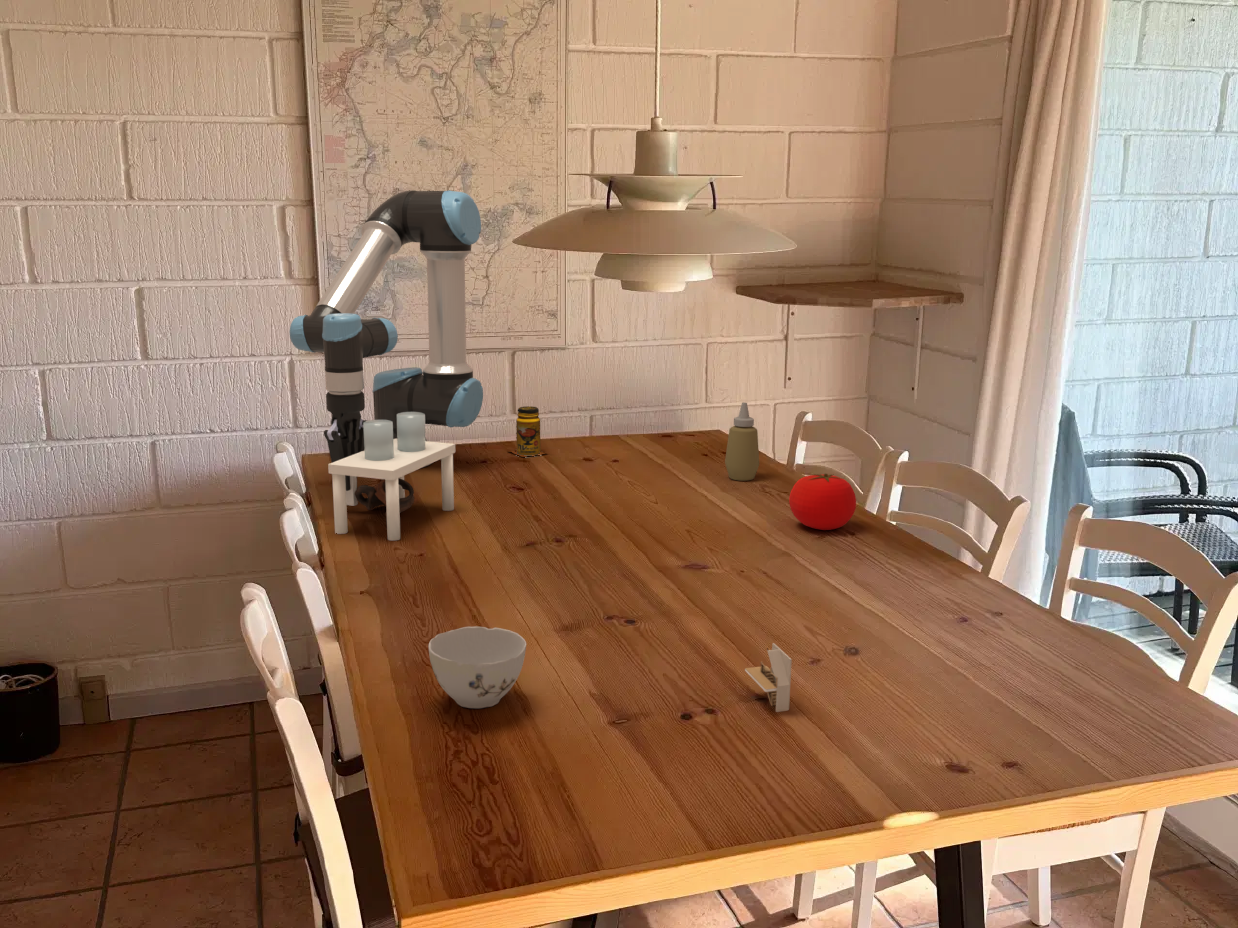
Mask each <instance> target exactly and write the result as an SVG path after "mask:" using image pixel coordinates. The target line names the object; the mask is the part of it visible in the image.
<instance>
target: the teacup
mask: <svg viewBox="0 0 1238 928" xmlns="http://www.w3.org/2000/svg"><path fill="white" fill-rule="evenodd" d="M526 651H527V641H526V640H525V638H523V636H521V635H520V634H519V633H518V632H515V631H512V630H509V629H505V628H500V627H493V628H488V627H485V626H464V627H460V628H456V629H451V630H449V631H448V630H447V631H445V632H442V633H437V634H436V635H435V636H434V637H433V638H431V639H430V641H429V643H428V654H429V661H430V662H429V663H430V665H431V668H432V671H433V674H434V677H435V679H436V680H437V682H438V684H439V685H440V688H442V689H443V691H444V692H445V693H446V694H447V695H448V696H449V697H450V698H452V699H453V700H454V701H455V703H456V704H457V705H458V706H460V707H463V708H468V709H484V708H489V707H493V706H495V705H497V704H499V702H500V701H501V699H502V698H503V697H505V696H506V695H507V694H508V693H509V691H511V689H512V687H513V686H514V684H516V681H518V678H519V676H520V674H521V671H522V668H523V666H524V660H525V657H526Z"/></svg>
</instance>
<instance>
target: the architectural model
mask: <svg viewBox="0 0 1238 928" xmlns="http://www.w3.org/2000/svg"><path fill="white" fill-rule="evenodd" d="M766 651H767V654H768V659H769V662H770V668H769V666H767V665H765V664H764V661H763V660H761V661H760V666H754V667H753V666H752V667H745V668H744V672H746V673H747V674H748V676H749V677H750V678H751V679H752V680H753V681H754V682H755V684H757V685H758V686H759V687H760V688H761V689H762V690H763V692H765V693H766V694H767V697H768V700H769V703H770V706H771V707H773V706H775V713H776V712H777V713H779V712H786V711H789V710H790V699H791V698H790V697H791V680H792V679H791V677H792V663H793V662H792V658H791V657H789V655H788V654H786V652H785V651H784V650H782V649H781V648H780V647H779V646H778V645H777V644H776V643H774V642H772V646H771V650H770V649H769V648H768V647H767V648H766Z"/></svg>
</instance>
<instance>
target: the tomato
mask: <svg viewBox="0 0 1238 928" xmlns="http://www.w3.org/2000/svg"><path fill="white" fill-rule="evenodd" d="M788 500H789V501H788V504H789V507H790V511H791V513H792V514H793V517H795V519H797V521H798V522H799V523H801V524H802V525H804V526H806V527H807V528H808V527H809V528H810V529H811V528H812V529H815V530H819V531H829V530H835V529H839V528H841V527H844V526H845V525H846V524H847V523H848V522H849V521H850V520H851V518H852V517H853V515H854V514H855V511H856V508H857V498H856V493H855V491H854V489H853V487H852V485H851V484H850V482H848V481H847V480H846V479H845V478H842V477H839V476H836V475H835V474H834V473H833V474H828V473H822V474H810V475H806V476H803V477H801V478H799V479H798V480H797V481H796V482H795V483H794V485H793V486H792V489H791V490H790V493H789V496H788Z"/></svg>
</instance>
